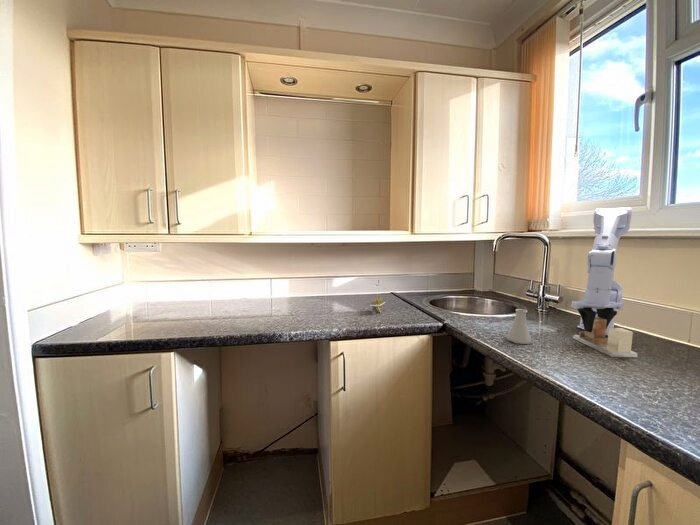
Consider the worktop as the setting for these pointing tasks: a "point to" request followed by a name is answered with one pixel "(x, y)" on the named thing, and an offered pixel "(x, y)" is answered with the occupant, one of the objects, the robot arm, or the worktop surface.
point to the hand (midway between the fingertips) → (594, 331)
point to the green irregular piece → (377, 305)
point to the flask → (519, 329)
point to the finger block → (597, 328)
